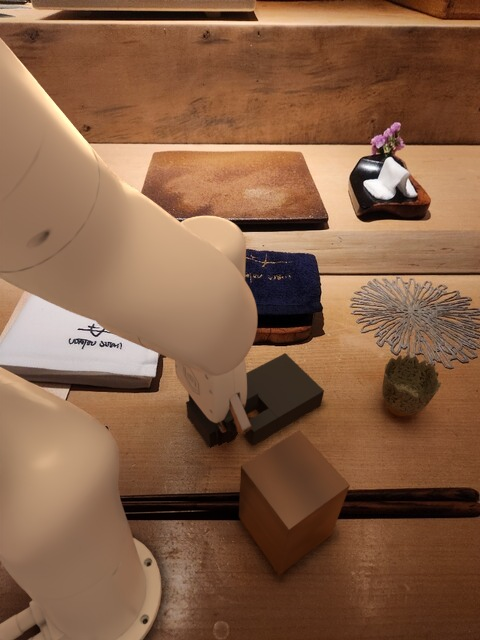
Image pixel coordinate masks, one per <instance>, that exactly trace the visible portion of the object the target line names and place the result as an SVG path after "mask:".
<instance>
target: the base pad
mask: <svg viewBox="0 0 480 640" xmlns="http://www.w3.org/2000/svg"><path fill="white" fill-rule="evenodd" d="M246 375H247V382H249V383H250V384H251V386H252V387H253V388H254V389H255V390H256V391H257V392H258V406H257V409H255V410H256V411H257V413H258V414H256V415H254V416H252V417H250V418H248V419H249V422H250V424H251V427H252V429H250V430H249V431H247V432H245V433H244V437H245V438H246V440H247V442H249V443H250V444H251V446H252V447H254V446H256V445H257V444H259V443H260V442H262V441H265V440H266V439H267V438H269V437H271V436H272V435H274V434H276V433H277V432H279V431H281V430H283V429H284V428H286V427H287V426H289V425H290V424H292V423H294V422H296V421H297V420H299V419H301V418H302V417H304V416H305V415H307V414H309V413H310V412H312V411H313V410H315V409H317V408H319V407H321V406H322V401H323V398H324V393H325V390H324V389H323V388H322V387H321V386H320V385H319V384H318V383H317V382H316V381H315V380H314V379H313V378H312V377H311V376H310V375H309V374H308V373H307V372H305V370H304V369H303V368H302V367H301V366H300V365H299V364H298V363H297V362H296V361H294V359H292V357H290V356H289V355H288V354H287V353H286V352H284V353H283V354H281V355H279V356H277V357H275V358H273V359H271V360H269V361H267V362H265V363H263V364H261V365H259V366H257V367H255V368H253V369H252V370H249V371H246Z"/></svg>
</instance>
